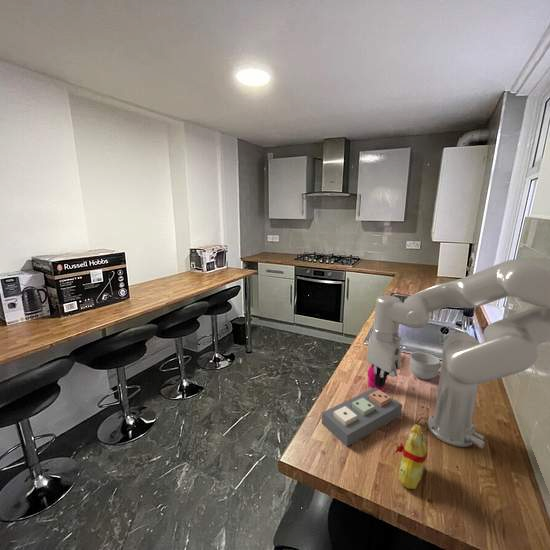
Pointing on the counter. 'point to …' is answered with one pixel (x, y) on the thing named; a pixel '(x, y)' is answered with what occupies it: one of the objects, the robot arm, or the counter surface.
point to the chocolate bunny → (412, 458)
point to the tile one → (345, 416)
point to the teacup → (424, 365)
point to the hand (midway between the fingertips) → (379, 385)
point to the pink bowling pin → (373, 379)
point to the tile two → (363, 407)
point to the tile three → (379, 398)
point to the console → (360, 419)
